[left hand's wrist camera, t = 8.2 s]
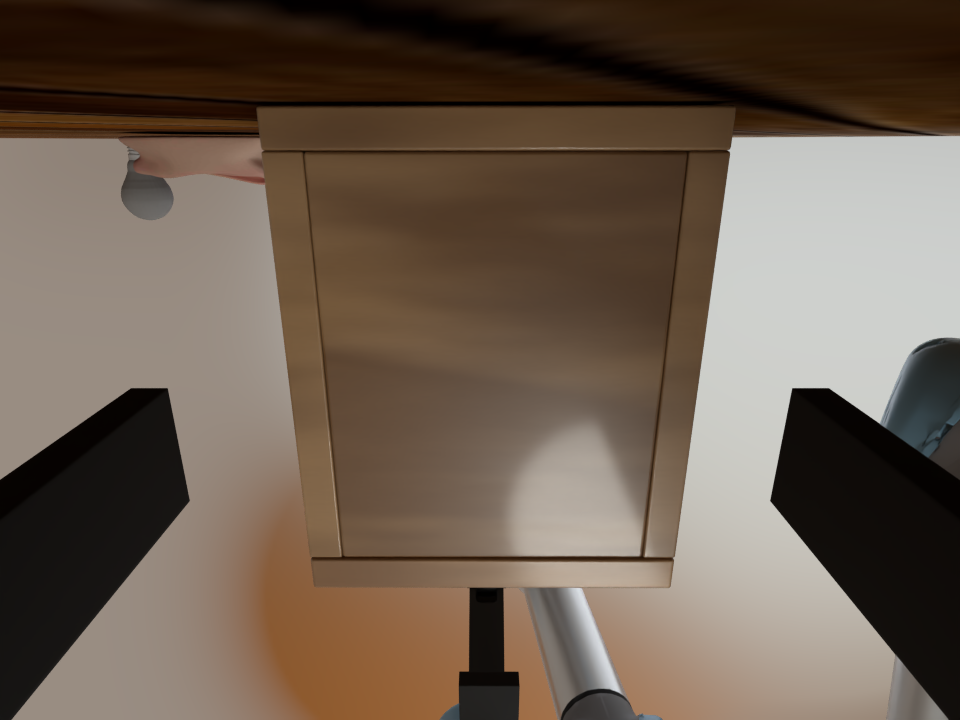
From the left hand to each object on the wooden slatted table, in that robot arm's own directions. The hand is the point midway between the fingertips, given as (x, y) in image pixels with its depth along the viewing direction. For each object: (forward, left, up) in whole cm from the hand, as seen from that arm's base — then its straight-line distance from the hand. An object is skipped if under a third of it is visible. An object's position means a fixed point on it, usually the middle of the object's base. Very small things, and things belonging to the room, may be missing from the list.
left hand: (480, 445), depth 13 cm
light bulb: (-25, +78, -7) cm, 82 cm away
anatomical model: (-15, +41, -7) cm, 44 cm away
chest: (-7, +6, -7) cm, 12 cm away
